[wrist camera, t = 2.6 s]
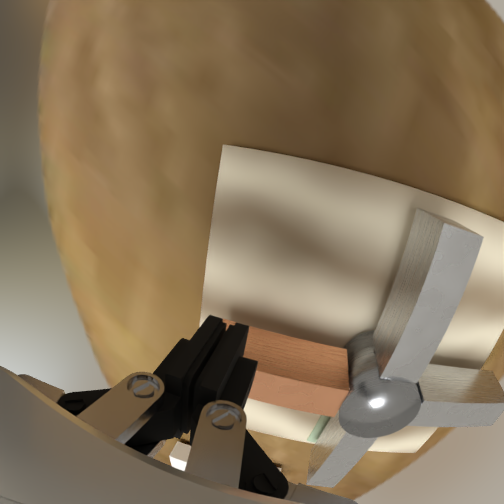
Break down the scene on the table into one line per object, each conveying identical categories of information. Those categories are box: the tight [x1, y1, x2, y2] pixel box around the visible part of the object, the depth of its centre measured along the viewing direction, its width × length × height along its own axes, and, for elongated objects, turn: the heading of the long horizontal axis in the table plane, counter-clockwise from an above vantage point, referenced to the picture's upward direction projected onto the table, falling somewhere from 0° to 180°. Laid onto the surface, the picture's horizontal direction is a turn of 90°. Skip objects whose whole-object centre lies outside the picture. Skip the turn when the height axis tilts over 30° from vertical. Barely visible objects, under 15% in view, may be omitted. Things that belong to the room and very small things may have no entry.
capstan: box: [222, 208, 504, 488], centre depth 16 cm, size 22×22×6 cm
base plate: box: [199, 145, 504, 453], centre depth 20 cm, size 24×24×2 cm
